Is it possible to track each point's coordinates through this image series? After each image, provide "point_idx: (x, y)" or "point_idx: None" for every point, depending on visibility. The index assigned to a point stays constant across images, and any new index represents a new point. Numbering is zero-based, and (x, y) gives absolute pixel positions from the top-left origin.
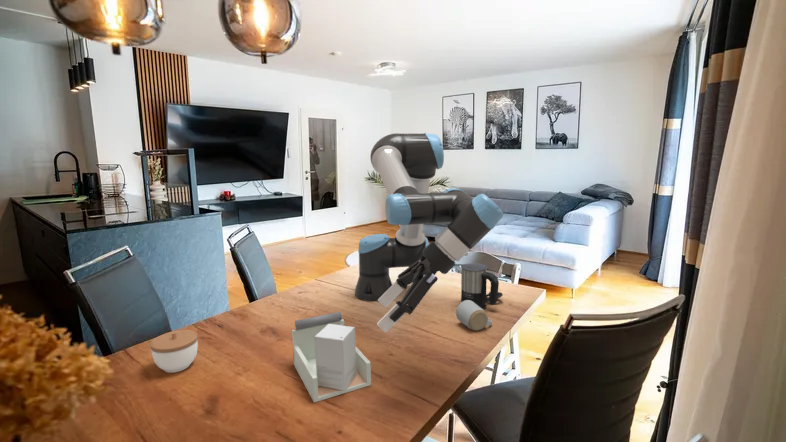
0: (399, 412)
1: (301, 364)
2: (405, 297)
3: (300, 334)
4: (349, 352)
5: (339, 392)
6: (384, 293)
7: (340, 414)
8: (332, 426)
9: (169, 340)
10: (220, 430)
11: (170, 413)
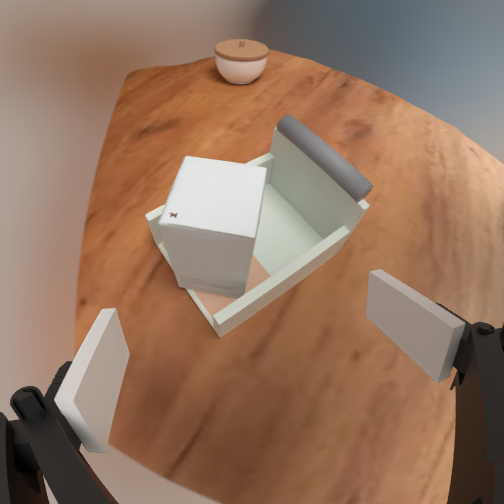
0: (133, 405)
1: None
2: (35, 456)
3: (283, 145)
4: (201, 259)
5: None
6: (401, 287)
7: (122, 294)
8: (94, 288)
9: (235, 45)
10: (107, 156)
11: (145, 106)
